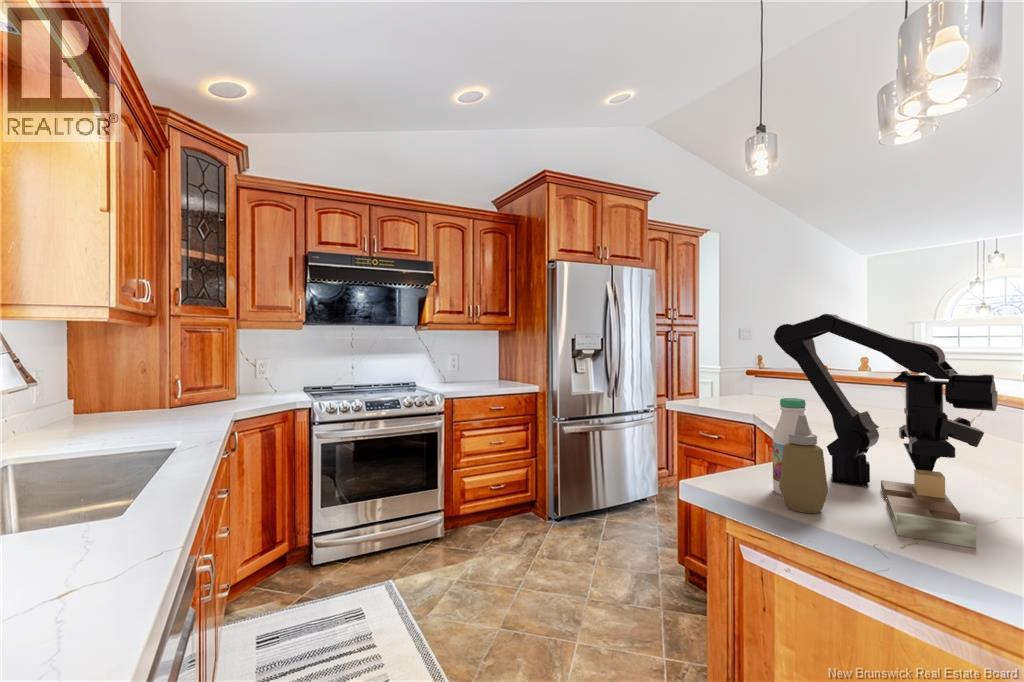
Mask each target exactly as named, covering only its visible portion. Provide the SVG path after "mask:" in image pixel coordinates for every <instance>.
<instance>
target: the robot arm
mask: <svg viewBox="0 0 1024 682" xmlns="http://www.w3.org/2000/svg"><path fill="white" fill-rule="evenodd" d="M827 333H831V334H832V335H835V336H838V337H841V338H843V339H846V340H848V341H851V342H854V343H856V344H858V345H861V346H863V347H866V348H868V349H870V350H873V351H875V352H876V351H877V352H878V353H881V354H883V355H884V356H886V357H888V358H889V359H890V360H892V361H893V362H895V363H897V364H898V365H900V366H902V367H904V368H905V369H906V370H903V371H901V373H899V375H897V376H896V377H894V378H893V379H892V382H893V383H899V384H900V383H903V384H905V408H904V407H903V408H904V413H903V414H905V424H903V425H902V426H900V427H899V428H898V434H899V435H898V437H899V439H902V440H904V439H905V438H907V439H908V443H907V442H905V443H903V446H904V448H905V450H906V453H907V454H908V457H909V459H910V460H911V463H912V464H913V467H914V469H916V470H926V471H934V469H935V464H936V462H937V460H938V459H940V458H948V459H955V458H956V447H955V446H954V445H953V444H952V443H951V442H949V438H950V439H951V438H952V439H953V440H957V441H959V442H962V443H965V444H968V445H969V446H971V447H974V448H978V446H979V445H980V442H981V440H982V439H983V436H984V434H985V432H984V431H982V430H981V429H979V428H976V427H975V426H971V421H970V420H968V419H965V418H963V417H960V416H958V417H956V418H954V420H952V419H949V418H948V417H949V416H948V414H946V412H944V397H945V401H946V403H948V404H950V405H952V407H953V409H961V410H962V409H966V410H973V411H974V410H976V411H985V412H986V411H987V412H996V411H997V406H998V390H997V388H996V382H995V375H994V374H987V373H985V374H983V373H982V374H960V373H958V372H957V371H956V370H955V369H954V368H953V367H952V366H951V365H950V363H949V362H947V361H946V354H945V353H944V350H943V349H942V348H941V347H939V346H937V345H935V344H931V343H927V342H921V341H916V340H913V339H912V340H911V339H906V338H901V337H896V336H892V335H889V334H887V333H884V332H881V331H878V330H876V329H874V328H871V327H868V326H865V325H862V324H859V323H857V322H854V321H851V320H848V319H846V318H844V317H843V318H842V317H840V316H839V315H837V314H833V313H823V314H821V315H819V316H817V317H814V318H810V319H808V320H804V321H801V322H797V323H785V324H784V323H783V324H781V325H779V326H778V327H776V329H775V331H774V335H773V339H774V342H775V344H777V346H778V347H779V348H780V349H781V350H782V351H783V352H784V353H785V354H786V355H788V356H789V357H790V358H792V359H793V360H794V361H796V363H797V364H798V366H799V367H800V369H801V370H802V372H803V374H804V376H806V378H807V379H808V381H809V383H810V384H811V386H812V387H813V388H814V390H815V392H816V394H817V395H818V397H819V398H820V400H821V401H822V403H823V404H824V406H825V407H826V409H827V411H828V412H829V414H830V415H831V419H832V425H833V428H834V432H835V433H836V434H835V435H836V437H837V438H836V439H835V440H833V441H832V442H831V443H829V444H828V445H826V449H827V452H828V454H829V455H830V456H831V483H834V484H841V485H848V486H849V485H850V486H857V487H864V488H865V487H866V488H868V487H869V485H868V483H869V484H870V482H871V471H870V470H871V468H870V467H871V465H870V462H869V461H868V460H867V455H866V454H867V453H868V452H869V449H870V448H871V447H874V446H875V445H877V443H878V441H879V439H880V432H879V430H878V429H879V428H880V426H879V425H877V424H876V423H875V422H874V421H873V419H872V417H871V415H870V412H869V411H868V410H867V411H863V412H860V411H858V410H857V408H854V407H853V406H852V404H851V402H850V401H849V400H848V399H847V397H846V395H845V394H844V392H843V391H842V390H841V388H840V386H839V385H838V383H837V382H836V381H835V379H834V377H833V376H832V375H831V373H830V371H828V368H826V366H825V364H824V363H823V361H822V360H821V358H820V357H819V355H818V353H817V349H816V344H815V341H814V339H815V338H818V337H820V336H822V335H824V334H825V335H826V334H827ZM907 370H908V371H907ZM909 371H911V372H913V373H917V374H911V373H910V372H909ZM922 374H923V375H922ZM924 374H925V375H924ZM931 378H934V379H935V380H933V379H931ZM944 386H945V387H944ZM944 388H945V389H944ZM944 391H945V392H944Z"/></svg>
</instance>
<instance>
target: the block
mask: <svg viewBox="0 0 1024 682" xmlns="http://www.w3.org/2000/svg"><path fill="white" fill-rule="evenodd" d="M913 477H914V478H913V479H914V481H913V484H914V489H915V491H916V493H917V494H918V495H923V496H931V497H938V498H945V494H946V477H945V476H944V474H943V473H942V471H934V470H933V471H926V470H916V469H915V468H914V469H913Z"/></svg>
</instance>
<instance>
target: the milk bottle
mask: <svg viewBox="0 0 1024 682" xmlns="http://www.w3.org/2000/svg"><path fill="white" fill-rule="evenodd" d="M779 405H780V410H781V414H780V417H779V420H778V422H777V423H776V426H775V428H774V431H773V436H772V486H773V487H772V489H773V492H775V493H776V494H778V495H780V496H782V493H781V490H780V488H779V484H780V474H781V464H782V454H783V446H784V445H786V444H787V443H790V442H789V433H791V432H795V429H796V425H797V420H798V416H799V415H805V411H806V400H805V399H802V398H797V397H795V398H794V397H787V398H785V397H783V398H780V400H779ZM808 426H809V424H808ZM809 430H810V433H811V434H813V431H812V429H811V428H810V426H809Z"/></svg>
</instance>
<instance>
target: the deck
mask: <svg viewBox="0 0 1024 682" xmlns="http://www.w3.org/2000/svg"><path fill="white" fill-rule="evenodd" d="M881 489H882V491H881V493H882V492H883V493H882V495H884V496H883V499H884V498H887V499H886V506H888V507H887V510H888V509H889V510H888V512H890V513H889V515H890V518H891V521H892V523H893V526H894V529H895V533H896V534H897V536H902V537H908V538H913V539H914V538H915V539H919V540H920V539H921V540H924V541H926V540H927V541H932V542H937V543H943V544H950V545H955V546H961V547H967V548H974V549H977V526H976V525H975V524H970V523H967V522H966V521H961V513H960V512H959V511H958V509H957V508H956V507H955V505H954V504H953V502H952V501H951V500H950V498H949V497H948V495H946V493H945V498H938V497H931V496H923V495H918V494H917V493H916V491H915V489H914V483H907V482H899V481H893V480H891V481H890V480H882V479H881V480H880V490H881Z"/></svg>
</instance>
